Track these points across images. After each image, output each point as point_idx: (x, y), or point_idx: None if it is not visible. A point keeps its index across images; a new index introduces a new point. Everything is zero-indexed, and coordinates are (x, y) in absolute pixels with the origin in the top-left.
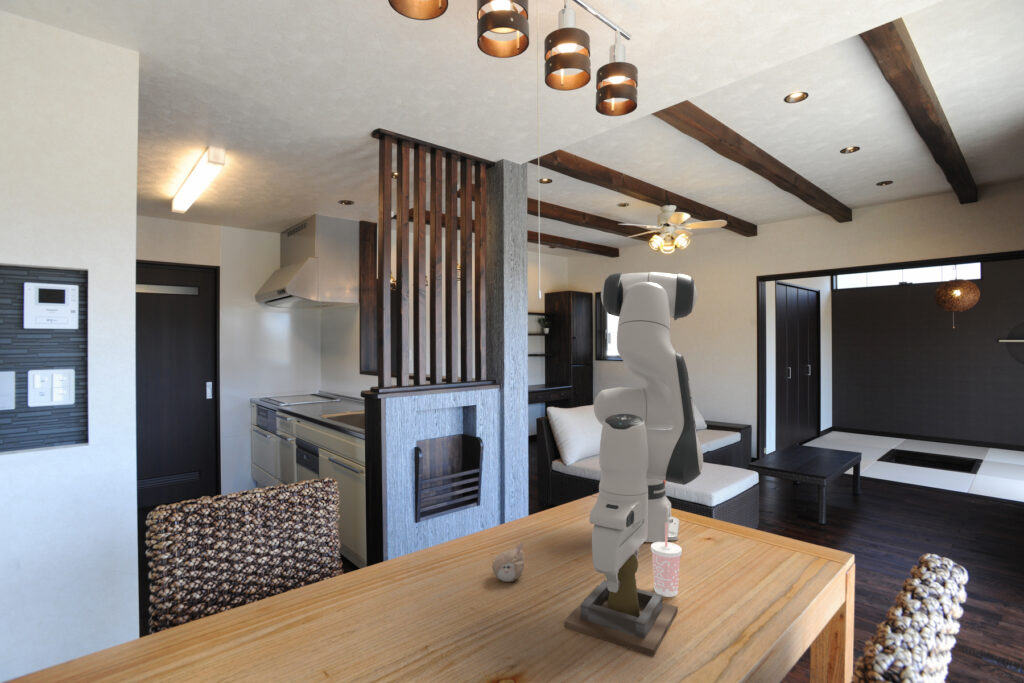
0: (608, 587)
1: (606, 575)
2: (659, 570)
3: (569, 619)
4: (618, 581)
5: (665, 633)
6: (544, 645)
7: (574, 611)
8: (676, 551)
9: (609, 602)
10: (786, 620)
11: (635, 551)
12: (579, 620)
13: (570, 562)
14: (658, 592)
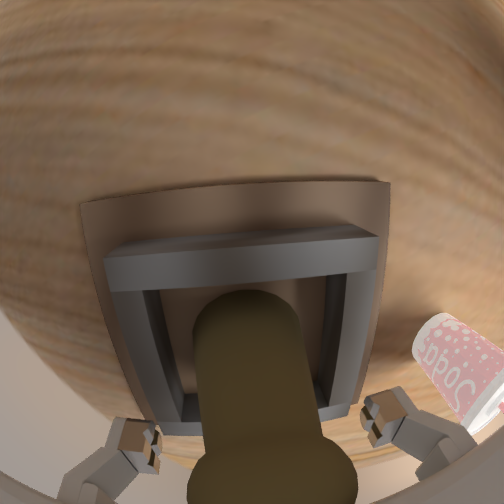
0: (113, 426)
1: (78, 469)
2: (449, 374)
3: (96, 213)
4: (139, 472)
5: None
6: (9, 212)
7: (150, 198)
8: (477, 427)
9: (207, 335)
10: (380, 462)
11: (426, 457)
12: (113, 244)
13: (458, 58)
14: (419, 335)
